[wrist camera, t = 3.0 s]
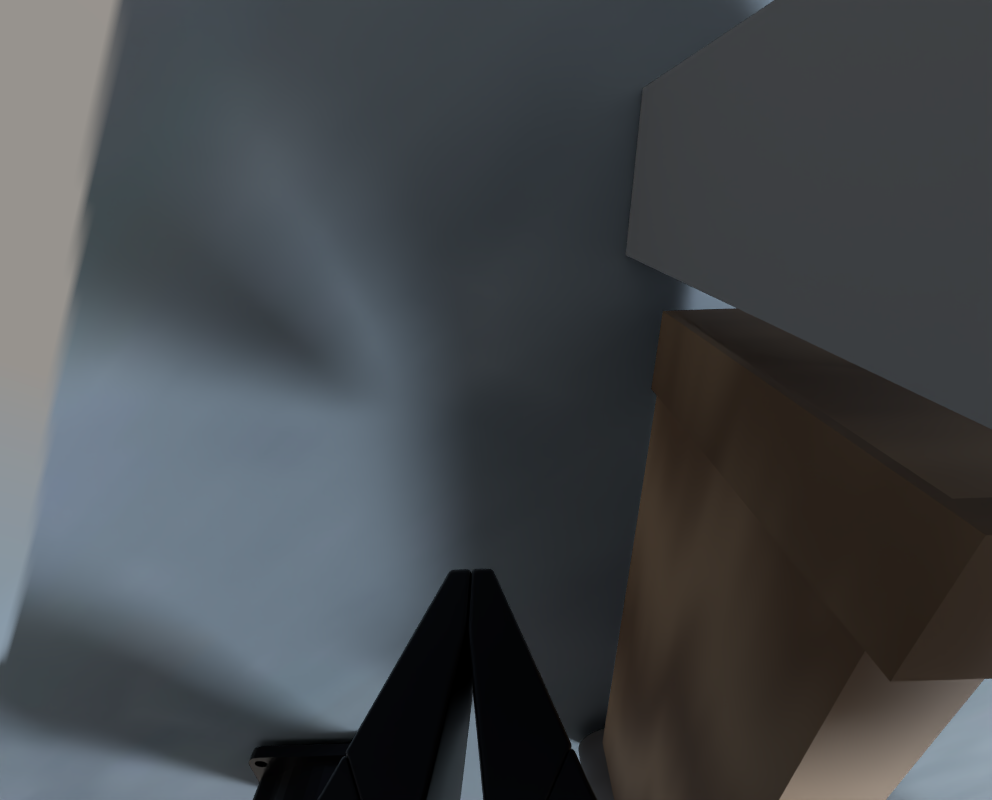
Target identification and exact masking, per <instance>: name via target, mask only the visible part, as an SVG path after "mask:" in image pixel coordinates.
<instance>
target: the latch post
mask: <svg viewBox="0 0 992 800" xmlns="http://www.w3.org/2000/svg"><path fill="white" fill-rule="evenodd" d="M626 256H628V257H630V258H633V259H635V260H637V261H639V262H641V263H643V264H645V265H647V266H649V267H651V268H654V269H656V270H658V271H660V272H662V273H664V274H666V275H668V276H670V277H673V278H675V279H677V280H679V281H681V282H683V283H685V284H687V285H689V286H691V287H694V288H696V289H698V290H700V291H702V292H704V293H706V294H708V295H710V296H712V297H715V298H717V299H719V300H721V301H723V302H725V303H727V304H729V305H731V306H733V307H736V308H738V309H740V310H742V311H744V312H746V313H748V314H750V315H752V316H754V317H757V318H759V319H761V320H763V321H765V322H767V323H769V324H771V325H773V326H775V327H778V328H780V329H782V330H784V331H786V332H788V333H790V334H792V335H794V336H796V337H799V338H801V339H803V340H805V341H807V342H809V343H811V344H813V345H815V346H817V347H820V348H822V349H824V350H826V351H828V352H830V353H832V354H834V355H836V356H838V357H841V358H843V359H845V360H847V361H849V362H851V363H853V364H855V365H857V366H860V367H862V368H864V369H866V370H868V371H870V372H872V373H874V374H876V375H878V376H881V377H883V378H885V379H887V380H889V381H891V382H893V383H895V384H897V385H899V386H902V387H904V388H906V389H908V390H910V391H912V392H914V393H916V394H918V395H920V396H923V397H925V398H927V399H929V400H931V401H933V402H935V403H937V404H939V405H941V406H944V407H946V408H948V409H950V410H952V411H954V412H956V413H958V414H960V415H962V416H965V417H967V418H969V419H971V420H973V421H975V422H977V423H979V424H981V425H983V426H986V427H988V428H990V429H992V0H774V1H773V2H771V3H770V4H768V5H767V6H765V7H764V8H762V9H761V10H759V11H758V12H756V13H755V14H753V15H752V16H750V17H749V18H747V19H746V20H744V21H743V22H741V23H740V24H738V25H737V26H735V27H734V28H732V29H731V30H729V31H728V32H726V33H725V34H723V35H722V36H720V37H719V38H717V39H716V40H714V41H713V42H711V43H710V44H708V45H707V46H705V47H704V48H702V49H701V50H699V51H698V52H696V53H695V54H693V55H692V56H690V57H689V58H687V59H686V60H684V61H683V62H681V63H680V64H678V65H677V66H675V67H674V68H672V69H671V70H669V71H668V72H666V73H665V74H663V75H662V76H660V77H659V78H657V79H656V80H654V81H653V82H651V83H650V84H648V85H647V86H645V87H644V88H643V91H642V101H641V110H640V120H639V130H638V140H637V149H636V159H635V169H634V178H633V188H632V198H631V208H630V217H629V227H628V237H627V246H626Z"/></svg>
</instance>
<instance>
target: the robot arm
mask: <svg viewBox="0 0 992 800" xmlns="http://www.w3.org/2000/svg"><path fill="white" fill-rule="evenodd" d="M472 692H473V697H474V708H475V718H476V729H477V739H478V750H479V760H480V771H481V781H482V792H483V800H597V798H596V796H595V794H594V792H593V790H592V788H591V786H590V784H589V781H588V779H587V777H586V775H585V773H584V771H583V768H582V766H581V764H580V762H579V760H578V757H577V755H576V753H575V751H574V750H573V749H571V742H570V740H569V738H568V736H567V733H566V731H565V729H564V727H563V725H562V722H561V720H560V718H559V716H558V713H557V711H556V709H555V707H554V704H553V702H552V700H551V698H550V696H549V693H548V691H547V689H546V687H545V684H544V682H543V680H542V678H541V676H540V673H539V671H538V669H537V667H536V664H535V662H534V660H533V658H532V655H531V653H530V651H529V649H528V647H527V644H526V642H525V640H524V638H523V635H522V633H521V631H520V629H519V626H518V624H517V622H516V620H515V618H514V615H513V613H512V611H511V609H510V606H509V604H508V602H507V600H506V597H505V595H504V593H503V591H502V589H501V586H500V584H499V582H498V580H497V577H496V575H495V573H494V571H493V570H492V569H474V570H473V571H472V573H471V571H470V570H468V569H460V570H451V571H450V572H449V573H448V575H447V577H446V578H445V580H444V582H443V584H442V585H441V587H440V589H439V591H438V592H437V594H436V596H435V597H434V599H433V601H432V603H431V604H430V606H429V608H428V610H427V611H426V613H425V615H424V617H423V618H422V620H421V622H420V624H419V625H418V627H417V629H416V630H415V632H414V634H413V636H412V637H411V639H410V641H409V643H408V644H407V646H406V648H405V650H404V651H403V653H402V655H401V657H400V658H399V660H398V662H397V663H396V665H395V667H394V669H393V670H392V672H391V674H390V676H389V677H388V679H387V681H386V683H385V684H384V686H383V688H382V690H381V691H380V693H379V695H378V696H377V698H376V700H375V702H374V703H373V705H372V707H371V709H370V710H369V712H368V714H367V716H366V717H365V719H364V721H363V723H362V724H361V726H360V728H359V729H358V731H357V733H356V735H355V736H354V738H353V740H352V742H351V743H350V744H321V745H290V746H261V747H257V748H255V749H254V750H253V753H252V755H251V757H250V760H249V765H250V767H251V769H252V771H253V772H254V774H255V776H256V778H257V779H258V781H259V785H258V788H257V790H256V793H255V795H254V798H253V800H460V797H461V789H462V780H463V772H464V764H465V755H466V747H467V738H468V730H469V721H470V713H471V704H472Z"/></svg>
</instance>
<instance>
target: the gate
mask: <svg viewBox="0 0 992 800" xmlns="http://www.w3.org/2000/svg"><path fill="white" fill-rule="evenodd" d="M651 389H652V390H653V392H654V393H655V394H656V395H657V397H656V404H655V410H654V417H653V423H652V429H651V436H650V442H649V448H648V455H647V461H646V468H645V474H644V480H643V487H642V493H641V499H640V506H639V512H638V519H637V525H636V531H635V538H634V544H633V550H632V557H631V563H630V570H629V576H628V582H627V589H626V595H625V601H624V608H623V614H622V621H621V627H620V633H619V640H618V646H617V652H616V659H615V665H614V672H613V678H612V684H611V691H610V697H609V704H608V710H607V716H606V723H605V729H602V730H599V731H596V732H594V733H591V734H590V735H588V736H587V737H585V738H584V739H583V740H582V741H581V743H580V745H579V756H580V763H581V766H582V768H583V771H584V773H585V775H586V777H587V779H588V781H589V784H590V786H591V788H592V790H593V792H594V794H595V796H596V798H597V800H886V799H887V798H888V796H889V795H890V794H891V793H892V791H893V790H894V789H895V788H896V787H897V785H898V784H899V783H900V782H901V780H902V779H903V778H904V777H905V776H906V774H907V773H908V772H909V771H910V769H911V768H912V767H913V766H914V765H915V763H916V762H917V761H918V760H919V758H920V757H921V756H922V755H923V753H924V752H925V751H926V750H927V749H928V747H929V746H930V745H931V744H932V742H933V741H934V740H935V739H936V738H937V736H938V735H939V734H940V733H941V731H942V730H943V729H944V728H945V727H946V725H947V724H948V723H949V722H950V720H951V719H952V718H953V717H954V715H955V714H956V713H957V712H958V711H959V709H960V708H961V707H962V706H963V704H964V703H965V702H966V701H967V700H968V698H969V697H970V696H971V695H972V693H973V692H974V691H975V690H976V689H977V687H978V686H979V685H980V684H981V682H982V681H983V680H984V679H992V429H990V428H988V427H986V426H983V425H981V424H979V423H977V422H975V421H973V420H971V419H969V418H967V417H965V416H962V415H960V414H958V413H956V412H954V411H952V410H950V409H948V408H946V407H944V406H941V405H939V404H937V403H935V402H933V401H931V400H929V399H927V398H925V397H923V396H920V395H918V394H916V393H914V392H912V391H910V390H908V389H906V388H904V387H902V386H899V385H897V384H895V383H893V382H891V381H889V380H887V379H885V378H883V377H881V376H878V375H876V374H874V373H872V372H870V371H868V370H866V369H864V368H862V367H860V366H857V365H855V364H853V363H851V362H849V361H847V360H845V359H843V358H841V357H838V356H836V355H834V354H832V353H830V352H828V351H826V350H824V349H822V348H820V347H817V346H815V345H813V344H811V343H809V342H807V341H805V340H803V339H801V338H799V337H796V336H794V335H792V334H790V333H788V332H786V331H784V330H782V329H780V328H778V327H775V326H773V325H771V324H769V323H767V322H765V321H763V320H761V319H759V318H757V317H754V316H752V315H750V314H748V313H746V312H744V311H742V310H740V309H738V308H736V309H705V310H675V311H663V314H662V321H661V327H660V334H659V341H658V347H657V354H656V361H655V367H654V374H653V381H652V388H651Z"/></svg>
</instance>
